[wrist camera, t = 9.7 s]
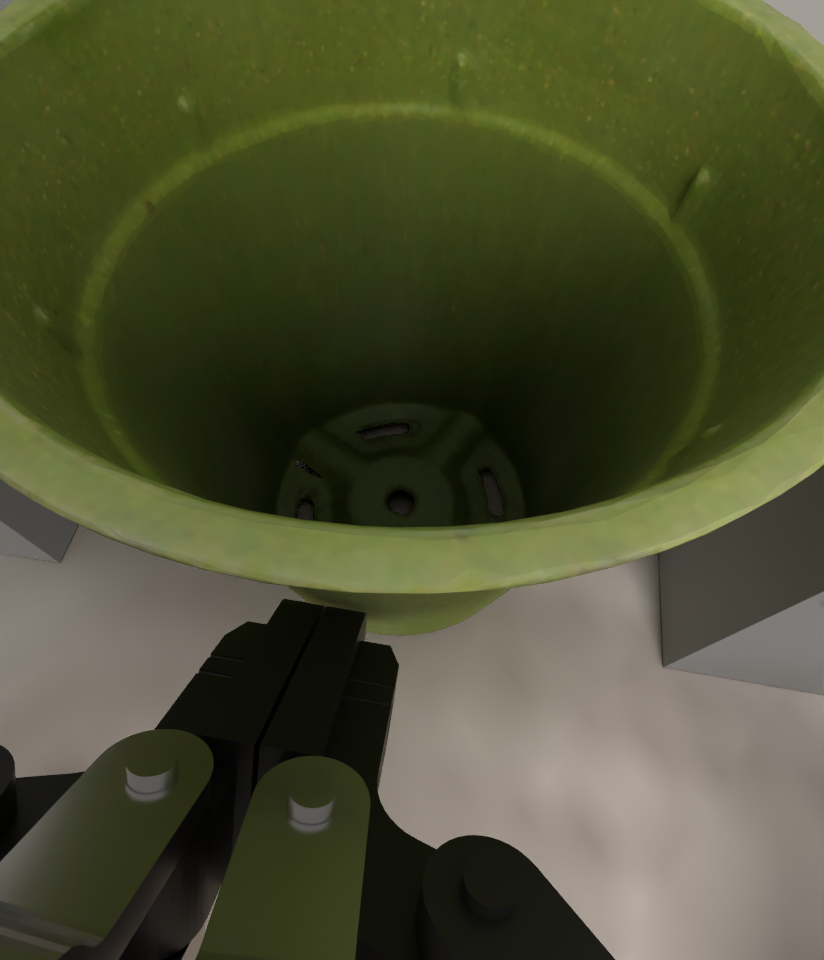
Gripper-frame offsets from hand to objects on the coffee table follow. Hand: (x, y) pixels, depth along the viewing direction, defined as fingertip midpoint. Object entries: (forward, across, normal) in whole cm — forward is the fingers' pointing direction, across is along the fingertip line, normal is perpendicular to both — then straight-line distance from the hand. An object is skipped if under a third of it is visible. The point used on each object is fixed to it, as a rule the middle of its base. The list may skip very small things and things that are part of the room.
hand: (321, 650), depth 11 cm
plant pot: (+7, 0, 0) cm, 7 cm away
